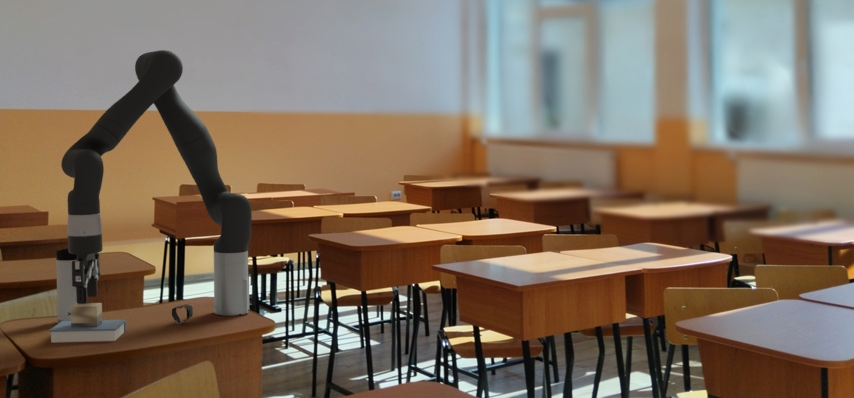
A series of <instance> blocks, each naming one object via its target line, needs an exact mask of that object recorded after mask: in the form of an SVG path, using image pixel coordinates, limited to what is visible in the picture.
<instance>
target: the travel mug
mask: <svg viewBox="0 0 854 398" xmlns="http://www.w3.org/2000/svg"><path fill="white" fill-rule="evenodd" d="M55 253H56V255H55V256H56V257H55V258H56V261H55V263H56V265H55V266H56V298H57V299H56V303H57V306H56V307H57V308H56V309H57V324H59V323H60V322H62V321H71V306H73V305H74V304H76V303H77V295H76V288H75V287H73V286H72V261H77V255H76V254H71V253H69V251H68V247H67V248H61V249H56V252H55ZM79 281H81V280H79Z"/></svg>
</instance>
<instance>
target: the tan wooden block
mask: <svg viewBox="0 0 854 398" xmlns="http://www.w3.org/2000/svg"><path fill="white" fill-rule="evenodd" d="M102 320H103V303H102V302H87V303H85V304H78V303H76V304H74V305H73V306H71V327H98V326H99V325H101V324H102Z"/></svg>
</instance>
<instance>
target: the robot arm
mask: <svg viewBox="0 0 854 398" xmlns="http://www.w3.org/2000/svg"><path fill="white" fill-rule="evenodd" d="M134 66H135V67H134V71H135V75H136V77H137V80H138V81H137V83H136V84H135V85H134V86H133V87H132V88H131V89H130V90H129V91H128V92H127V93H125V94H124V95H123V96H122V97H120V98H119V99H118V100H116V102H114V103H113V104H112V105H111V106H110V107H108V109H106V110H105V112H104V113H102V115H101V116H100V117H99V119H98V120H97V121H96V122H95V123H94V124H93V126H92V127H90V130H89V131H88V132H87V133H85V134H84V135H83V136H81V138H79V139H78V140H77V141H76V142H75V143H73V144H72V145H71V146H70V147H69V148H68V149H67V150H66V152H65V153H64V154H63V156H62V158H61V164H60V165H61V170H62V171H63V173H64V174H65V175H66V176H68V177H70V178H73V179H74V181H73V189H72V190H70V191H68V193H67V194H68V195H67V225H66V228H67V245H68V246H67V248H68V251H69V253H71V254H76V255H77V261H72V286H73V287H75V288H76V295H77V303H78V304H85V303H88V297H89V298H92V297H95V298H96V297H97V296H99V295H98V281H99V277H100V276H101V267H100V266H101V263H100V253H102V251H103V231H102V229H103V228H102V227H103V226H102V225H103V223H102V218H101V205H100V203H101V202H100V193H101V189H102V184H103V178H104V169H105V168H104V161H103V158H102V156H103V155H104V154H106V153H108V152H111V151H113V150H114V149H115V148H116V147H117V146H118V145H119V144H120V143H121V141H122V140H123V139H124V138H125V136H126V135H127V133H129V131H130V130H131V128H133V127H134V125H135V124H136V123H137V121H138V120H139V119H140V118H141V117H142V116H143V115H144V114H145V113H146V111H147V110H148V109H149V108H150V107H151V106H152V105H154V106H155V108H156V110H157V112H158V114H159V115H160V117H161V120H162V121H163V123H164V125H165V127H166V129H167V131H168V133H169V134H170V136H171V138H172V140H173V143H174V145H175V147H176V149H177V151H178V153H179V154H180V156H181V158H182V160H183V162H184V163H185V165H186V168H187V169H188V171H189V174H190V176H191V177H192V178H193V180H194V181H193V182H194V183H195V184H196V186H197V189H198V192H199V194H200V196H201V199H202V202H203V203H204V204H203V205H204V207H205V209H206V212H207V213H208V216H209V218H210V219H211V221H213V222H214V224H217V225H218V226H221V228H220V235H219V238H217V239H216V240H214V243H213V294H214V295H213V300H214V302H213V304H214V305H213V307H214V308H213V310H214V314H215V315H218V316H240V315H239V314H241V315H246V314H245V313H249V312H250V276H249V244H250V242H251V238H252V222H253V221H252V219H253V215H252V212H253V211H252V206H251V202H250V200H249V198H247V197H246V196H245V195H243V194H241V193H240V194H239V193H235V192H234V193H232V192H230V191H229V190H228V188H227V186H226V185H225V183H224V181H223V179H222V177H221V174H220V172H219V171H220V170H219V167H218V154H217V147H216V145H215V142H214V140H213V138H212V136H211V134H210V132H209V130H208V128H207V126H206V125H205V123H204V122H203V121H202V119H201V118H200V117H199V115H197V114H196V113H195V112H194V110H192V109H191V108H190V107H189V105H187V103H186V102H184V100H183V99H182V97H181V96H180V94H179V92H178V91H177V88H176V86H175V84H176V83H178V82H179V80H180V79H181V77H182V75H183V70H184V67H183V62H182V60H181V58H180V57H179V55H177V54H176V53H175V52H173V51H171V50H167V49H164V50H163V49H162V50H154V51H149V52H144V53H142V54H141V55H139V57H138V58H137V59H136V61H135V64H134ZM79 280H81V281H79ZM248 310H249V311H248Z"/></svg>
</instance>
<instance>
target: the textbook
mask: <svg viewBox="0 0 854 398" xmlns="http://www.w3.org/2000/svg"><path fill="white" fill-rule="evenodd" d="M48 332H49V333H50V341H51V343H79V342H81V343H84V342H90V343H91V342H115V341H116V340H118V339H119V337H121V336H122V335H123V334H124V333H126V332H127V319H102V324H101V325H99V326H98V327H71V321H62V322H60V323H57V324H56V325H55V326H53V327H51V328H50V329H48Z"/></svg>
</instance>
